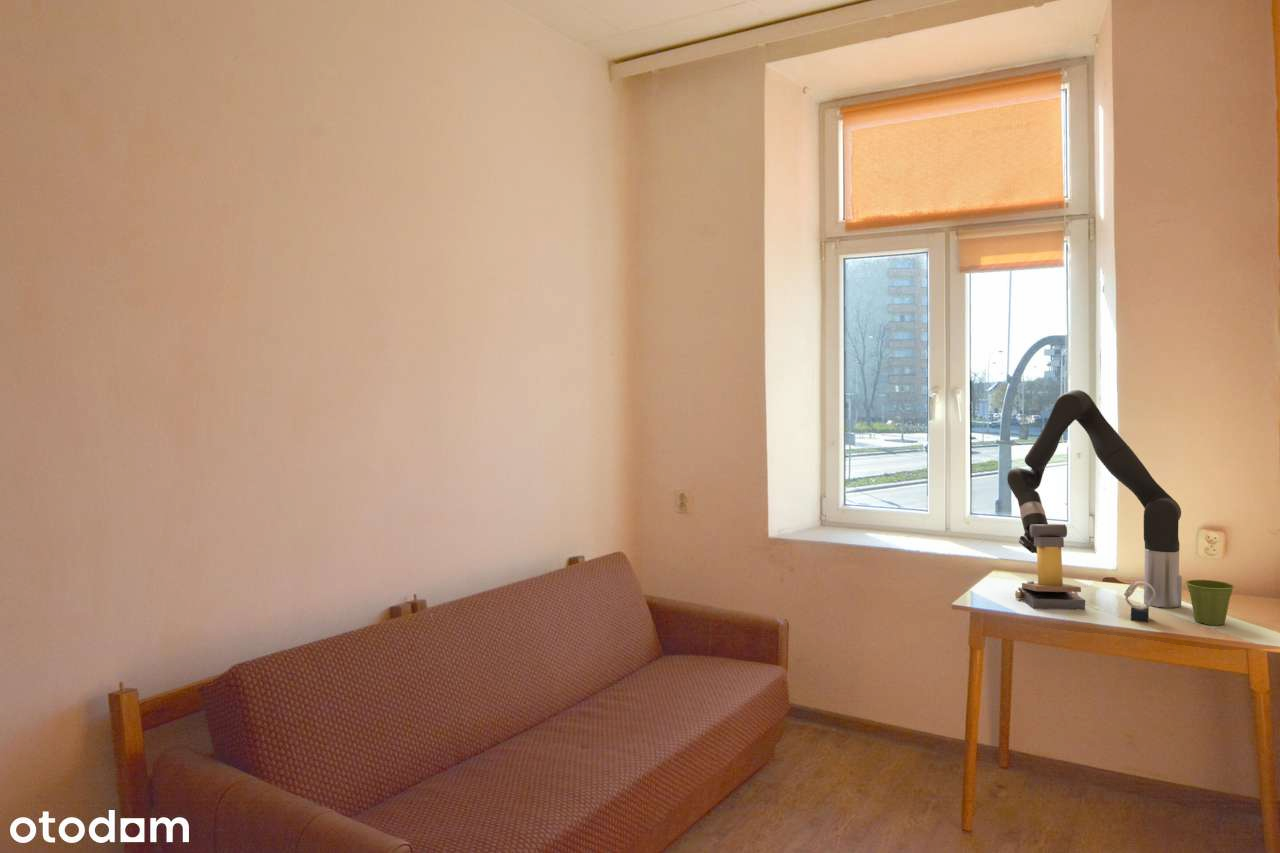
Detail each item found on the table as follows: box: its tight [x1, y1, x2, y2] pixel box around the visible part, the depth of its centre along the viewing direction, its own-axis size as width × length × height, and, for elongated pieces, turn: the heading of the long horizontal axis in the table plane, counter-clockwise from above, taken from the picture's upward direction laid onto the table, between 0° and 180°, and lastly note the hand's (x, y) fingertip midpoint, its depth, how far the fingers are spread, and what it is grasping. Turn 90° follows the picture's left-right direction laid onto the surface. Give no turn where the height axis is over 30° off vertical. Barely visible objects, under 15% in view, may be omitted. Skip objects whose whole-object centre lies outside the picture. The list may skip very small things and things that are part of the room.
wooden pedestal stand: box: [1021, 523, 1082, 593], centre depth 270 cm, size 13×14×20 cm
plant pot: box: [1185, 579, 1236, 626], centre depth 245 cm, size 12×12×11 cm
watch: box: [1123, 580, 1156, 623], centre depth 250 cm, size 6×8×11 cm
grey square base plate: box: [1014, 587, 1086, 611], centre depth 270 cm, size 18×17×3 cm
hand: (1045, 562), depth 274 cm, fingers closed
